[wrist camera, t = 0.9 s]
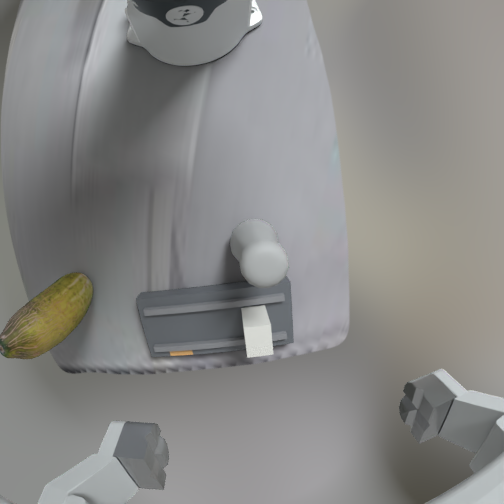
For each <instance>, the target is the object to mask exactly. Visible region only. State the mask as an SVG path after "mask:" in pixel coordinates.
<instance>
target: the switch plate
mask: <svg viewBox="0 0 504 504" xmlns="http://www.w3.org/2000/svg"><path fill="white" fill-rule="evenodd" d="M136 302H137V306H138V310H139V314H140V318H141V322H142V325H143V329H144V332H145V336H146V339H147V343H148V346H149V349H150V353H151V356H152V357H165V356H182V355H196V354H208V353H219V352H229V351H238V350H246V343H245V336H244V328H243V320H242V311H241V308H245V307H253V306H261V305H265V307H266V310H267V314H268V317H269V320H270V323H271V332H272V344H273V346H276V345H283V344H289V343H294V342H293V320H292V301H291V284H290V281H289V279H288V278H287V276H286V277H285V278H284V279H283V280H282V281H281V282H280V283H279V284H278V285H275V286H273V287H270V288H257V287H255V286H253V285H251V284H249V283H248V281H245V282H237V283H229V284H220V285H211V286H202V287H193V288H183V289H174V290H164V291H154V292H143V293H140V294H139V296H138V297H137V298H136Z"/></svg>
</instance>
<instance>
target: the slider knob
mask: <svg viewBox="0 0 504 504" xmlns="http://www.w3.org/2000/svg"><path fill="white" fill-rule="evenodd" d="M241 311H242V320H243V328H244V336H245V343H246V350H247V358H249V357H257V356H265V355H272V354H273V344H272V332H271V323H270V320H269V317H268V314H267V310H266V307H265V305H261V306H253V307H245V308H241Z"/></svg>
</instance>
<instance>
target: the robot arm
mask: <svg viewBox="0 0 504 504" xmlns="http://www.w3.org/2000/svg"><path fill="white" fill-rule="evenodd" d="M127 3H128V6H127V8H125V14H126V16H127V18H128V20H129V23H130V26H129V29H128V32H127V39H128V41H129V42H130V43H132V44H134V45H138V46H142V47H144V48H145V49H146V50H147V51H148V52H149V53H150V54H151V55H152V56H154V57H155V58H157V59H158V60H160V61H162V62H165V63H168V64H172V65H179V66H191V65H199V64H203V63H207V62H210V61H213V60H215V59H218V58H220V57H222V56H223V55H225V54H227V53H228V52H229V51H231V50H232V49H233V48H234V47H235V46H236V45H237V44H238V43H239V42H240V40H241V39H242V37H243V36H244V35H245V34H246V33H247V32H248V31H250V30H252V29H254V28H256V27H257V26H259V25H260V24H261V23H262V14H261V12H260V10H259V8H258V6H257V4H256V2H255V0H127ZM251 12H253V14H251ZM403 391H404V393H405V394H406V395H405V396H404V397H403V398H402V400H401V402H400V406H399V410H400V416H401V418H402V420H403V422H404V423H405V424H407V425H409V426H411V433H412V434H413V436H414V437H415V439H416V440H417V442H418V443H422V442H423V441H426V440H428V439H430V438H432V437H435V436H437V435H438V436H440V437H441V438H443V439H445V440H448V441H450V442H452V443H454V444H456V445H458V446H460V447H463V448H465V449H467V450H469V451H472V452H474V453H476V455H475V457H474V458H473V459H472V461H471V462H470V465H469V466H470V468H471V469H472V470H473V472H474V474H473V475H472V476H470V477H469V478H467V479H466V480H464V481H463V482H461V483H459V484H458V485H456V486H455V487H453V488H451V489H450V490H448V491H446V492H445V493H443V494H441V495H439V496H438V497H436V498H434V499H432V500H430V501H428V502H426V503H425V504H504V398H502V397H497V396H492V395H489V394H484V393H480V392H476V391H472V390H470V391H467V390H466V389H464V388H463V387H462V386H461V385H460V384H459V383H458V382H457V381H456V380H455V379H454V378H453V377H451V375H449V374H448V373H447V372H446V371H445V370H443V369H439V370H437V371H434V372H432V373H430V374H427V375H425V376H422V377H420V378H417V379H415V380H412V381H409V382H407V384H406V385H405V387H404V390H403ZM160 432H161V431H160V428H159V426H158V424H155V423H141V422H129V421H117V420H113V421H112V422H111V423H110V425H109V427H108V429H107V432H106V434H105V437H104V439H103V441H102V444H101V446H100V449H99V451H98V454H92V455H91V456H90V457H88V458H87V459H85V460H84V461H82V462H81V463H79V464H78V465H76V466H75V467H73V468H72V469H70V470H69V471H67V472H65V473H64V474H62V475H61V476H59V477H57V478H56V479H54V480H53V481H51V482H50V483H48V484H46V486H45V488H44V490H43V492H42V494H41V497H40V499H39V501H38V503H37V504H126V503H127V502H128V501H129V500H130V499H131V498H132V496H134V494H135V493H136V492H137V491H138V490H139V488H145V489H159V490H163V489H164V485H165V479H166V473H165V472H164V470H163V468H164V467H165V466H166V465H168V460H169V454H168V453H169V452H168V447H167V443H166V441H165V439H164V438H162V437H161V436H160ZM0 504H16V503H14V502H12V501H10V500H8V499H6V498H5V497H3V496H1V495H0Z"/></svg>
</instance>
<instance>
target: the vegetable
mask: <svg viewBox="0 0 504 504" xmlns="http://www.w3.org/2000/svg"><path fill="white" fill-rule="evenodd" d="M92 296H93V286H92V283H91V281H90V280H89V278H88V277H87V276H85V275H84V274H82V273H70V274H67V275H65V276H63V277H61V278H60V279H58V280H57V281H56V282H55V283H53V284H52V285H51V286H49V287H48V288H47V289H45V290H44V291H43V292H41V293H40V294H39V295H37V296H36V297H34V298H33V299H32V300H31V301H29V302H28V303H27V304H26V305H25V306H23V307H22V308H21V309H20V310H18V312H17V313H15V314H14V315H13V316H12V317H11V319H10V320H9V321H8V323H7V325H6V327H5V329H4V330H3V332H2V333H1V335H0V353H1V354H2V355H3V356H5V357H7V358H20V359H32V358H35V357H38V356H40V355H41V354H43V353H45V352H47V351H49V350H50V349H52V348H53V347H55V346H56V345H58V344H59V343H60V342H62V341H63V340H64V339H65V338H66V337H67V336H68V335H69V334H70V333H71V332H72V331H73V330H74V329H75V328H76V327H77V326H78V324H79V323H80V322H81V320H82V319H83V317H84V316H85V314H86V312H87V310H88V308H89V305H90V303H91V300H92Z"/></svg>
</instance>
